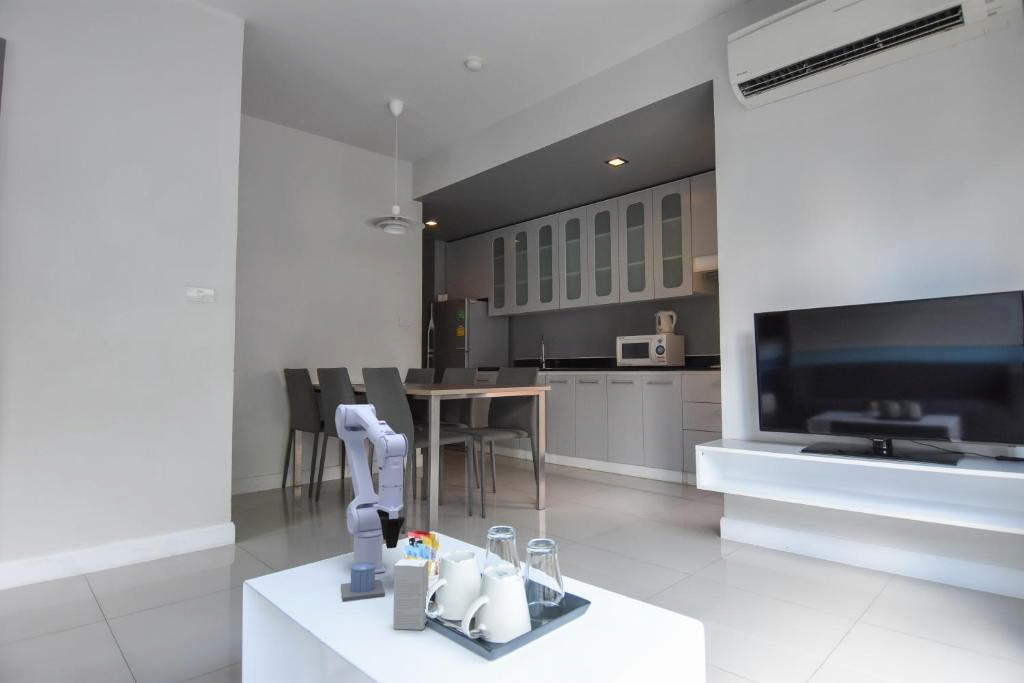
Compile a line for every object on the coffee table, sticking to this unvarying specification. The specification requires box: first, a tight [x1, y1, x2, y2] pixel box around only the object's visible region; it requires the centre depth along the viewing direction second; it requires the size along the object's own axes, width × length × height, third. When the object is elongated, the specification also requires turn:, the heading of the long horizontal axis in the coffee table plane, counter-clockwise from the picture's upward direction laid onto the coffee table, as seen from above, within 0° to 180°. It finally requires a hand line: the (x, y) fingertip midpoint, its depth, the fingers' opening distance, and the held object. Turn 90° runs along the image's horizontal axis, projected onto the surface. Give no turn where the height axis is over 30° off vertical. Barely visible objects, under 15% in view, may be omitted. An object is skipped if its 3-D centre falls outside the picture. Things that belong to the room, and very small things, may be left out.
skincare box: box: [392, 558, 430, 631], centre depth 107 cm, size 6×4×12 cm
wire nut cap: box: [350, 562, 376, 593], centre depth 124 cm, size 5×5×5 cm
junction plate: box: [340, 579, 386, 602], centre depth 124 cm, size 9×9×4 cm
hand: (389, 543), depth 130 cm, fingers open, 7 cm apart
